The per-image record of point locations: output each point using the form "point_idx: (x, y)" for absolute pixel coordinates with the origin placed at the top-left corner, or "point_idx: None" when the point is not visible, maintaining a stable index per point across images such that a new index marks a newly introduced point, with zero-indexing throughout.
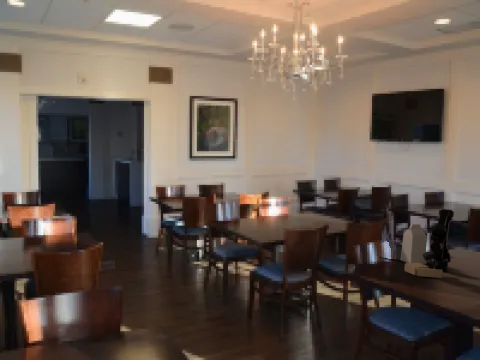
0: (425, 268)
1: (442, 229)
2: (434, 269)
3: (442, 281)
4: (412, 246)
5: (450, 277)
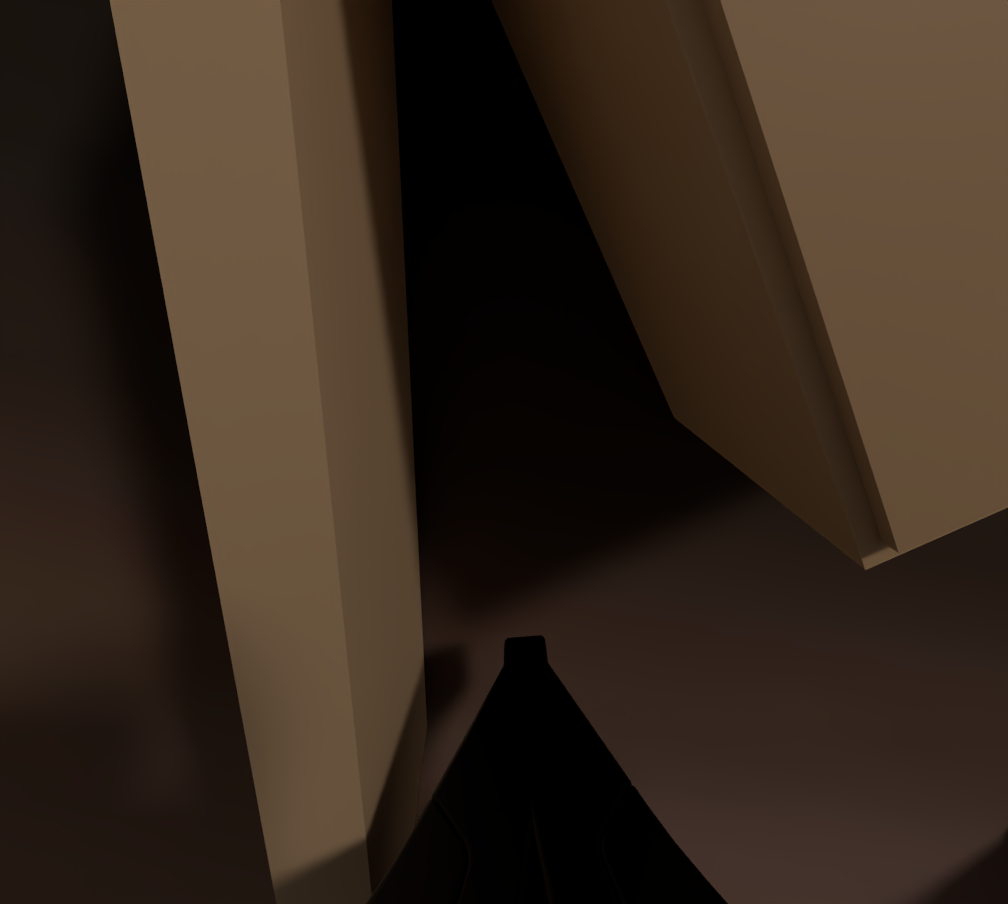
0: (248, 142)
1: None
2: (252, 747)
3: (13, 665)
4: None
5: None
